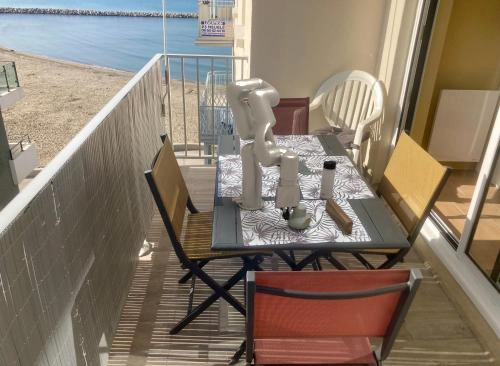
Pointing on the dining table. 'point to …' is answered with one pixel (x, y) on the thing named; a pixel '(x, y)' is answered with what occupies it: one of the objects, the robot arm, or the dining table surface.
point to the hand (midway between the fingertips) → (285, 218)
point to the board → (339, 216)
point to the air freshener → (299, 217)
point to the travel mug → (327, 179)
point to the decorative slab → (303, 169)
